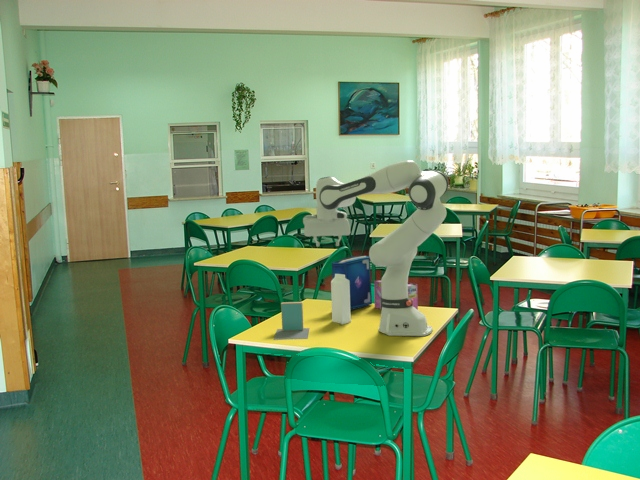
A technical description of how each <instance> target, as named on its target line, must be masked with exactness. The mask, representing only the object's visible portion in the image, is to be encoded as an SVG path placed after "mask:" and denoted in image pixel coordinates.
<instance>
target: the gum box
mask: <svg viewBox="0 0 640 480" xmlns="http://www.w3.org/2000/svg"><path fill="white" fill-rule="evenodd" d="M373 286H374V287H373V290H374V293H373V294H374V308H376V309H380V310H381V307H380V300H381V297H382V295H381V280H374V285H373ZM408 297H409V298H411V299H412V298H413V307H415V308H416V309H417V310H418V311H419V308H418V307H419V305H418V304H419V303H418V302H419V301H418V300H419V298H418V297H419V296H418V284H417V283H412V282H408Z"/></svg>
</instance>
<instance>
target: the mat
mask: <svg viewBox="0 0 640 480" xmlns="http://www.w3.org/2000/svg"><path fill="white" fill-rule="evenodd" d="M309 334H310V327H306V328H305V327H304V330H301V331H282V328H277V329H276V331H275V334H274V338H273V341H278V340H281V341H282V340H284V341H285V340H308V339H309Z"/></svg>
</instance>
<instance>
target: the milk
mask: <svg viewBox="0 0 640 480" xmlns="http://www.w3.org/2000/svg"><path fill="white" fill-rule="evenodd" d="M330 291H331V293H330V295H331V296H330V297H331V320H332V323H338V324H339V325H341V326H343V325H346V324H348V323H351V322H352V320H351V319H352V317H351V310H350V282H349V280H348V279H346V278H345V275H344V274H335V277H334V279H333V278H332V279H331V281H330Z"/></svg>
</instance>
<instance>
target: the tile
mask: <svg viewBox="0 0 640 480" xmlns="http://www.w3.org/2000/svg"><path fill="white" fill-rule="evenodd" d="M303 303H304V302H303V301H288V302H287V301H286V302H281V303H280V308H281V309H280V311H281V329H282V331H301V330H304V328H305V327H304V311H303V310H304V307H303V306H304V305H303Z"/></svg>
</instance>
